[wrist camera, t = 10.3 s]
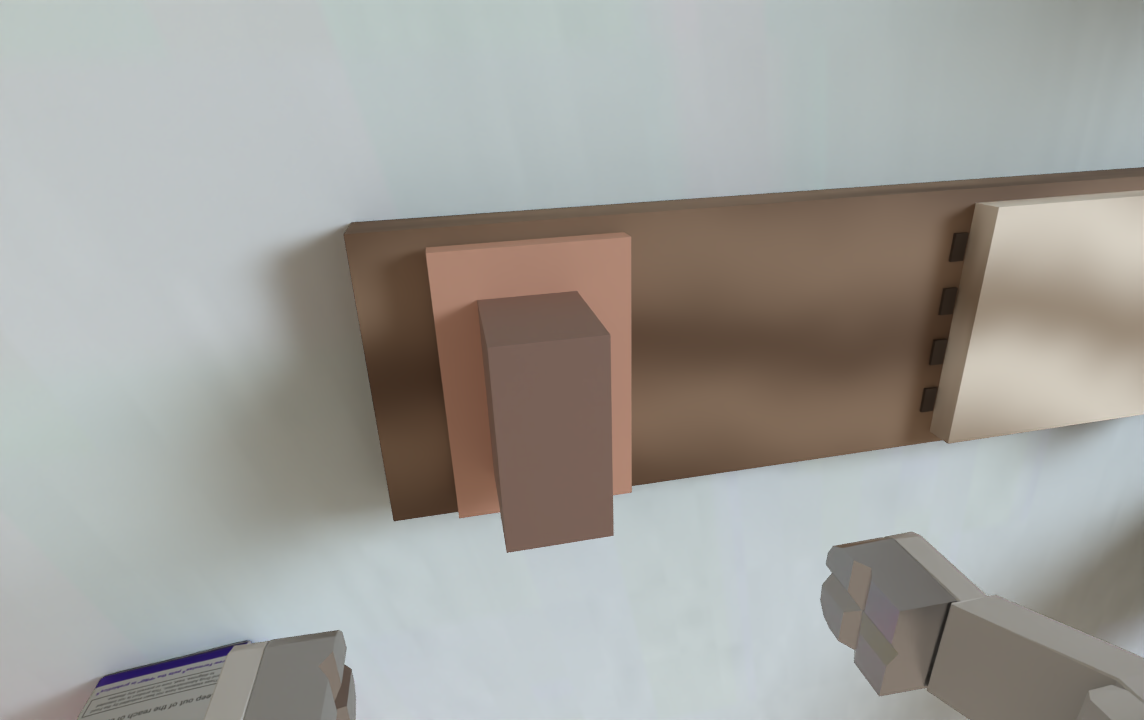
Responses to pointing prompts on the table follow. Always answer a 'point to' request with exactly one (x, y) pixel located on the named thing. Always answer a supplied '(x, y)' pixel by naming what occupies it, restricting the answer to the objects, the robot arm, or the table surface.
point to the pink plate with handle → (537, 381)
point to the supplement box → (159, 689)
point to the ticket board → (805, 320)
